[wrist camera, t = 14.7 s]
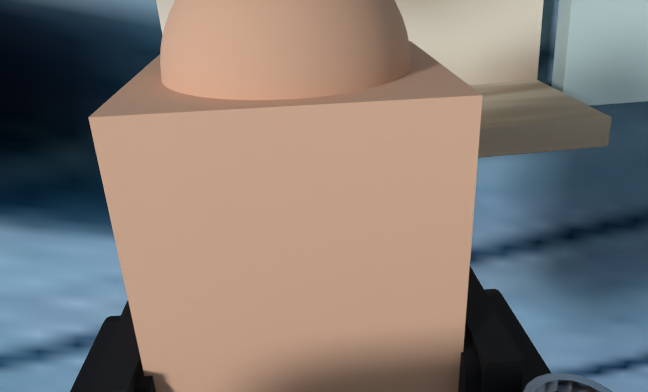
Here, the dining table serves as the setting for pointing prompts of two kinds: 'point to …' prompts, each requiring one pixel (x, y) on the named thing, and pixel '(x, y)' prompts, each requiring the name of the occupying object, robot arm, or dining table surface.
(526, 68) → the crate
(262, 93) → the dome-capped square column
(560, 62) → the tailgate
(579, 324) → the dining table surface
